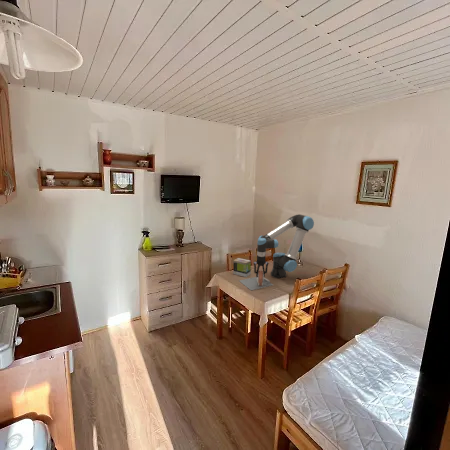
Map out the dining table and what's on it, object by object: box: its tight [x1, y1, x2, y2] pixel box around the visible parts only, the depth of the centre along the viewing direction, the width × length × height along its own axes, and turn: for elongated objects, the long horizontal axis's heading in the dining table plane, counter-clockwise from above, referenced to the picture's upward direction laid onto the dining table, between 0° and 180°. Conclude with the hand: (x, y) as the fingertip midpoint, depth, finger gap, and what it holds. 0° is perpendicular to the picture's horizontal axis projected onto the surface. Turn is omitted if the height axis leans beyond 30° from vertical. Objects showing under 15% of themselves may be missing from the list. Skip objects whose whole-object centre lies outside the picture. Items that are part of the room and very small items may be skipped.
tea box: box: [232, 257, 252, 278], centre depth 253 cm, size 15×10×15 cm, turn 56°
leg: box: [257, 270, 263, 286], centre depth 231 cm, size 11×4×13 cm, turn 1°
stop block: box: [264, 277, 271, 284], centre depth 235 cm, size 2×8×3 cm, turn 26°
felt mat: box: [238, 276, 274, 292], centre depth 234 cm, size 24×22×1 cm
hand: (260, 280), depth 228 cm, fingers closed on leg, 4 cm apart
